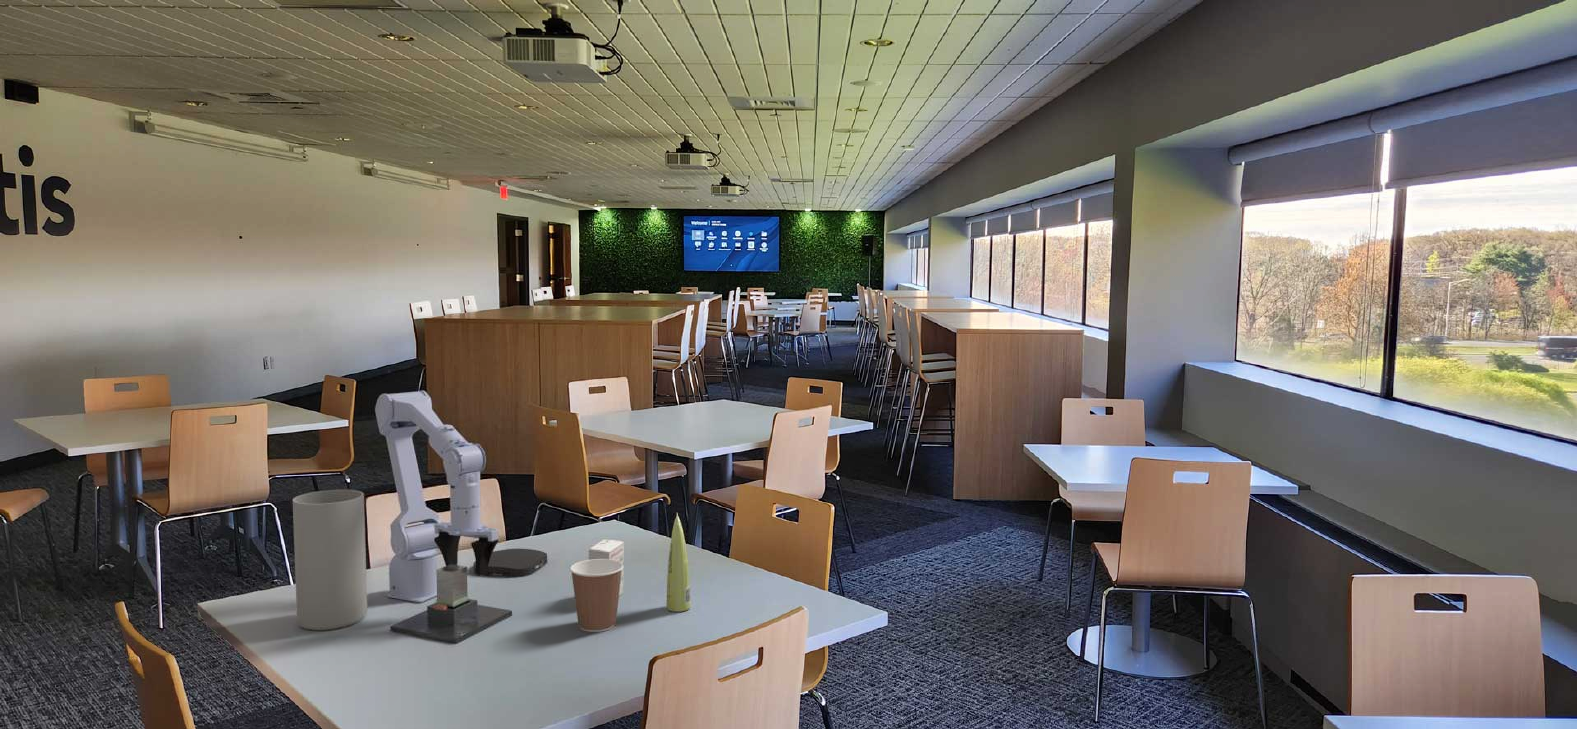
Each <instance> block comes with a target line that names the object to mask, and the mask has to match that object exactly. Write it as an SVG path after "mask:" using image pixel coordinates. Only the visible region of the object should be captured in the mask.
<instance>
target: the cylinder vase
mask: <svg viewBox="0 0 1577 729" xmlns="http://www.w3.org/2000/svg"><path fill="white" fill-rule="evenodd" d="M292 515H293V516H292V519H293V523H292V524H293V546H294V568H295V570H294V572H295V573H294V576H295V597H296V598H295V600H296V622H297V624H298V626H299V627H300V628H302V629H305V630H309V631H330V630H336V629H343V628H346V627H349V626H352V625H355V624H357V623H359V622H361V621H362V620H363V619H364V618H366V616H367V614H368V591H367V590H368V589H367V584H368V583H367V560H366V557H367V556H366V524H365V523H366V522H365V520H366V519H365V517H366V516H365V493H364V492H362V491H360V490H354V489H330V490H329V489H328V490H327V489H326V490H319V491H313V492H308V493H304V494H301V495H297V496H295V497H294V498H292Z"/></svg>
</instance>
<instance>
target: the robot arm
mask: <svg viewBox="0 0 1577 729" xmlns="http://www.w3.org/2000/svg"><path fill="white" fill-rule="evenodd" d="M374 411H375V416H376V422H377V427H378V430H379V433H380V435H382V436H384V437H385V439H386V445H387V449H388V452H389V454H388V455H389V458H390V463H391V464H390V465H391V468H392V474H393V478H394V483H395V488H396V494H397V498H398V503H399V508H400V513H399V514H398V515H397V516H396V517H395V518H394V519H393V521H392V522H391V524H390V529H389V530H390V546H391V549H392V551H393V553H394V556H393V557H392V558H391V560H390V562H389V567H388V570H389V571H388V575H389V576H388V580H389V593H387V594H386V597H387V598H392V599H397V600H403V601H410V602H414V603H423V602H425V601H428V600H430V599H432V598H435V597H437V574H436V570H437V569H438V562H437V561H438V557H437V556H438V554H440V553H441V555H442V558H443V562H444V564H445V566H448V565H450V564H453V565H458V564H459V563H458V559H459V558H458V555H459V545H460V539H461V537H466V538H472V539H478V540H475V541H472V542H470V546H471V547H472V550H473V554H474V558H475V559H474V560H475V561H476V572H477V574H476V575H477V576H480V577H481V576H484V575H483V574H485V573H487V568H488V564H489V561H490V557H491V555H492V552H493V551H494V550H495V548H496V546H497V544H498V543H499V530H498V529H496V528H492V527H489V526H487V525H483V524H482V515H481V514H482V513H481V511H482V509H481V505H482V504H481V473H482V472H483V471H484V470H485V468H486V463H487V456H486V452H485V450H484V449H483V447H482V446H481V444H480V443H473V442H468V440H466V439H465V438H464V437H463V436H462V434H460V433H459V431H458V430H456V428H455V426H453V425H451V424H443V422H442V421H441V419H440V418H439V417H438V415H437V414H436V412H435V411H434V410H433V403H432V398H431V396H430V395H429V394H428V392H426V391H425V390H417V391H409V392H399V393H396V392H395V393H382V394H380V395H379V396H378V397H377V400H376V404H375V408H374ZM420 430H422V431H423V432H424V433H425V434H426V435H427V436H429V437H428V444H429V445H430V447H431V448H432V449H433V451H434V452H436V454H438V456H439V457H440V458H441V459H442V460H443V461H442V463H443V468H444V471H445V475H446V482H447V485H449V495H450V496H449V497H450V498H449V505H450V522H444V521H441V518H440V515H439V513H438V512H436V511H435V510H432V509H431V508H429V507H427V504H426V498H425V495H424V491H423V490H424V489H423V484H422V482H421V481H422V480H421V475H420V470H419V466H418V461H417V457H416V452H415V447H414V442H413V436H414V434H415V433H416V432H418V431H420ZM408 525H409V526H408Z"/></svg>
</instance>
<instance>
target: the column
mask: <svg viewBox="0 0 1577 729" xmlns="http://www.w3.org/2000/svg"><path fill="white" fill-rule="evenodd" d="M436 574H437V596H436V600H435V601H436V602H435V603H437V604H441V605H446V606H448V607H455V606H458V605H460V604H462V603H464V602H466V601H468V599H469V595H468V566H466V565H458V564H457V565H453V564H450V565H448V566H446V565H445V566H443V567H440V568H437V570H436Z"/></svg>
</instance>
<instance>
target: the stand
mask: <svg viewBox="0 0 1577 729" xmlns="http://www.w3.org/2000/svg"><path fill="white" fill-rule="evenodd" d="M511 616H513V610H510V609H505V608H500V607H499V608H498V607H494V606H493V607H492V606H487V605H482V604H478V600H477V599H471V598H468V601H466V602H464V603H462V604H460V605H458V606H455V607H448V606H446V605H441V604H437V603H436V602H434V603H432V604H430V605H427V607H426V610H423V611H422V612H419V613H417V614H414V615H413V616H410V617H409V618H408V617H407V618H406V619H402V620H401V621H398V622H396V623H394V624H392V625H390V632H393V633H397V634H403V635H410V636H413V637H419V638H425V639H430V640H435V641H440V642H445V643H451V644H459V643H461V642H463V641H464V640H467V639H469V638H470V637H473V636H475V635H477V634H478V633H481V632H482V631H484V630H487V629H489V628H490V627H492V626H494V625H497V624H499V623H501V622H502V621H504V620H506V619H507V618H510V617H511Z"/></svg>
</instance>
